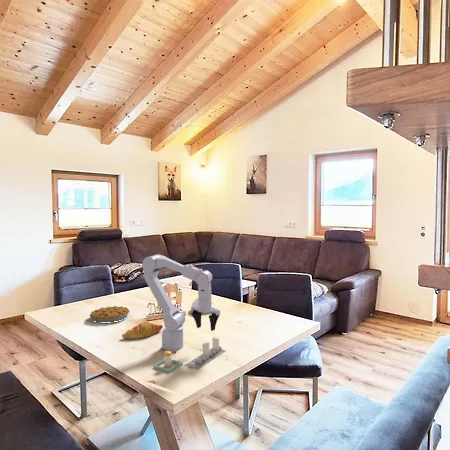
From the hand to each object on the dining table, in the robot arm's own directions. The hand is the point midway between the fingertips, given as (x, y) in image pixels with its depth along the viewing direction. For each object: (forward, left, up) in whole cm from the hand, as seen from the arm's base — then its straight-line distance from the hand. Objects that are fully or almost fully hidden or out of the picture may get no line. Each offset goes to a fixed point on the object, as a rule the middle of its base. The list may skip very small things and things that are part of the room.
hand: (205, 328), depth 161 cm
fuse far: (+5, +1, -10) cm, 11 cm away
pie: (-75, +10, -11) cm, 77 cm away
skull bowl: (-37, +49, -11) cm, 62 cm away
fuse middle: (+5, -7, -10) cm, 12 cm away
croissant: (-40, 0, -11) cm, 41 cm away
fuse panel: (+5, -7, -10) cm, 13 cm away
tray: (-4, -21, -10) cm, 24 cm away
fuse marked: (-4, -21, -10) cm, 24 cm away
